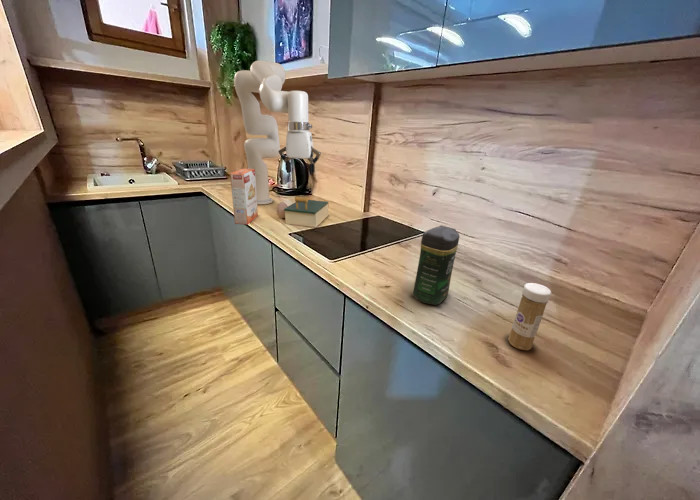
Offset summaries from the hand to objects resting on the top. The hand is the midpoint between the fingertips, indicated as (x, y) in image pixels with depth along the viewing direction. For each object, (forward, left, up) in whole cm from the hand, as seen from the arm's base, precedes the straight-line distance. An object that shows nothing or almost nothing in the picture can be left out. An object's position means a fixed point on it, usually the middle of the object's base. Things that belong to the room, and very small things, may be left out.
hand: (300, 173), depth 122 cm
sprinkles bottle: (+72, -59, -21) cm, 95 cm away
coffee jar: (+54, -45, -21) cm, 73 cm away
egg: (-10, +4, -21) cm, 24 cm away
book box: (+1, +6, -21) cm, 22 cm away
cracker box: (-23, -4, -21) cm, 32 cm away
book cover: (+1, +6, -15) cm, 16 cm away
